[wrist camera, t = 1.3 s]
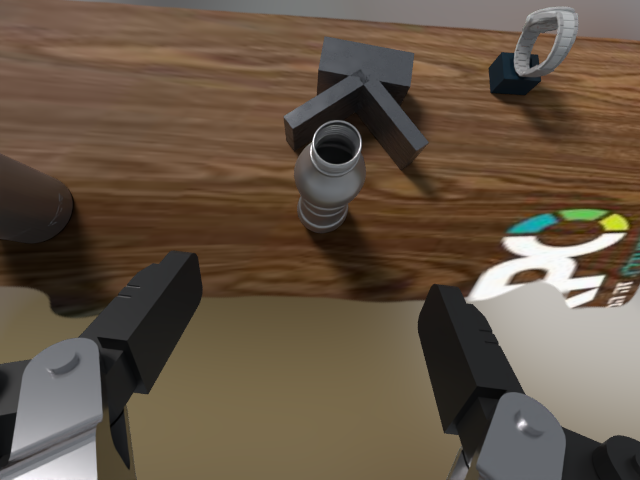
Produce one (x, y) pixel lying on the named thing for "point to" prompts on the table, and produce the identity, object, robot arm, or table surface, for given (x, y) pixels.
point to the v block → (361, 97)
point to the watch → (523, 67)
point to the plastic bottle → (329, 176)
